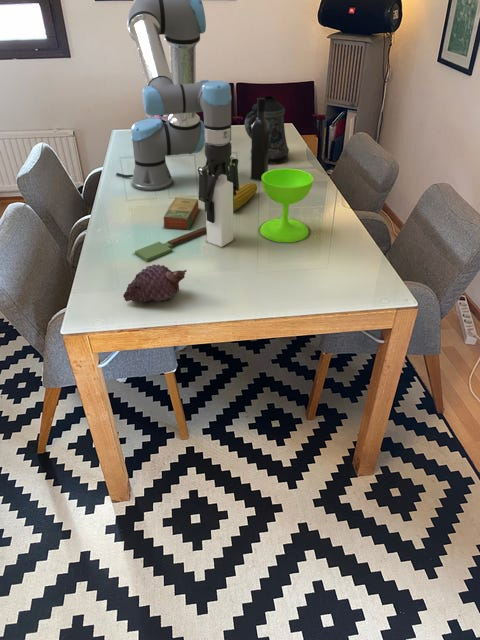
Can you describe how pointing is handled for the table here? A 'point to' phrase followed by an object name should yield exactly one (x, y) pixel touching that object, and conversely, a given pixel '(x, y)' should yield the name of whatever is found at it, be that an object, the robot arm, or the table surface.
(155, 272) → the pine cone
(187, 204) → the carton
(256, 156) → the wine bottle
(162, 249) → the spatula
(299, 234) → the wineglass
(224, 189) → the milk
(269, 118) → the beer stein
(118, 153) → the table surface
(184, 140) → the robot arm
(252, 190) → the food
